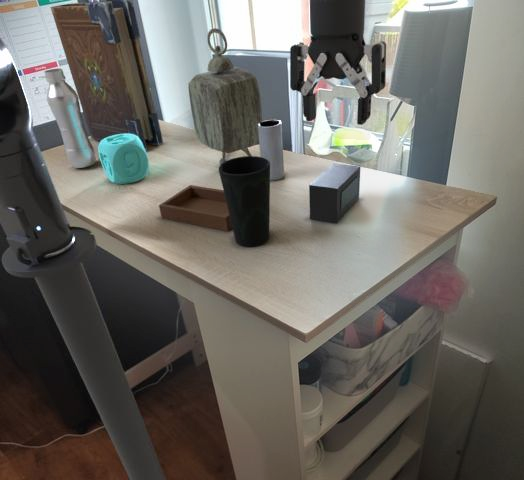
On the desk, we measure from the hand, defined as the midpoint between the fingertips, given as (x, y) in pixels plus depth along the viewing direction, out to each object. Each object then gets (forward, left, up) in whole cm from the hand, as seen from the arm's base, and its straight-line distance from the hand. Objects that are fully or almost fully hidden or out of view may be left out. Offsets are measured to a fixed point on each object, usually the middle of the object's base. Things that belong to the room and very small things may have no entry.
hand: (336, 121), depth 74 cm
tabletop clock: (+14, +31, -15) cm, 37 cm away
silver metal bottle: (+2, +65, -15) cm, 67 cm away
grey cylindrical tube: (+10, +18, -15) cm, 25 cm away
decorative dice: (0, +49, -15) cm, 51 cm away
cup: (-15, +8, -15) cm, 22 cm away
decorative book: (+19, +68, -15) cm, 72 cm away
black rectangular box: (0, 0, -15) cm, 15 cm away
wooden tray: (-9, +21, -15) cm, 27 cm away
